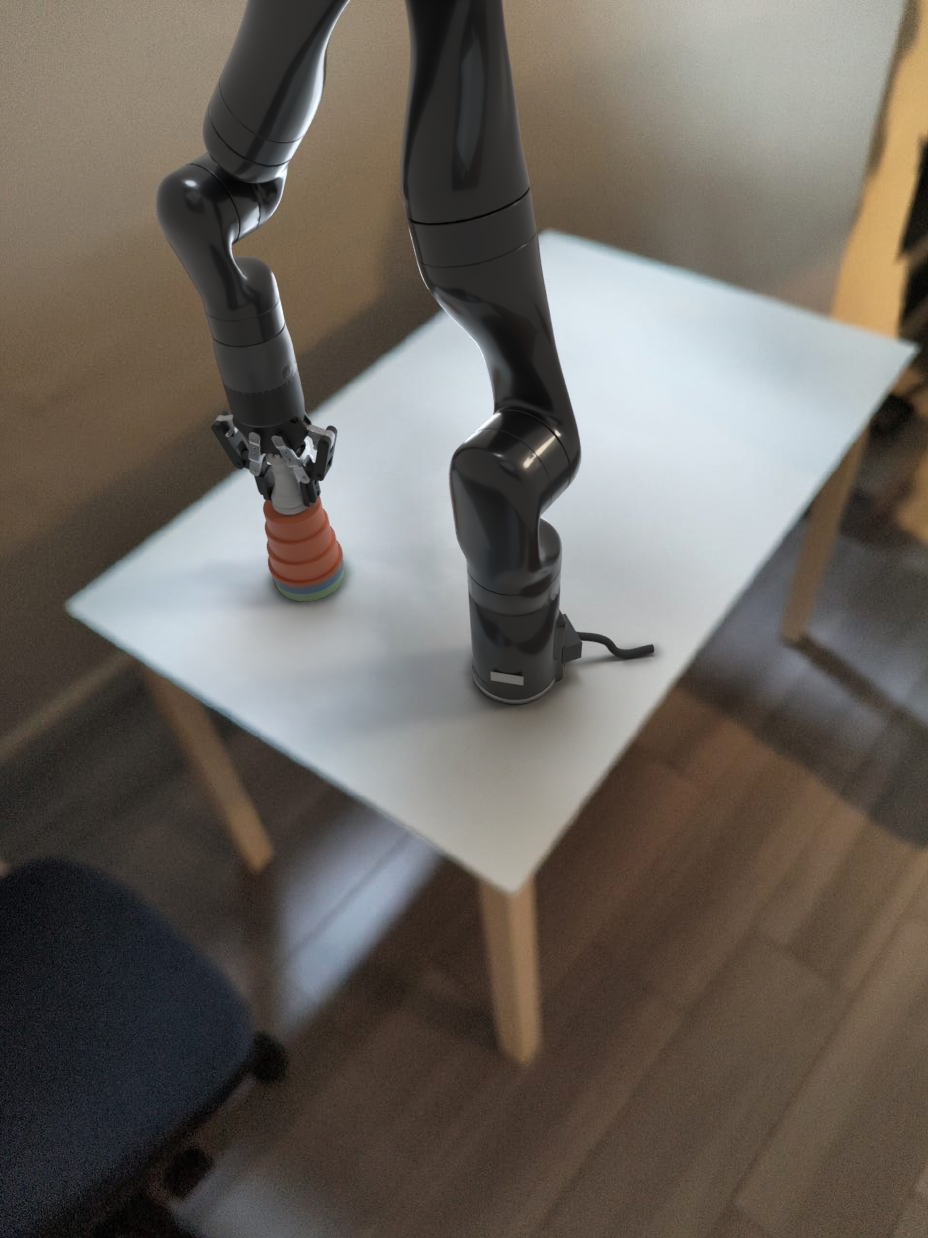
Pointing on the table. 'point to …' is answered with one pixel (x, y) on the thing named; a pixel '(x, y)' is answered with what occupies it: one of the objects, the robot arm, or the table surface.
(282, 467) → the rook chess piece
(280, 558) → the cup stack
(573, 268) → the table surface
